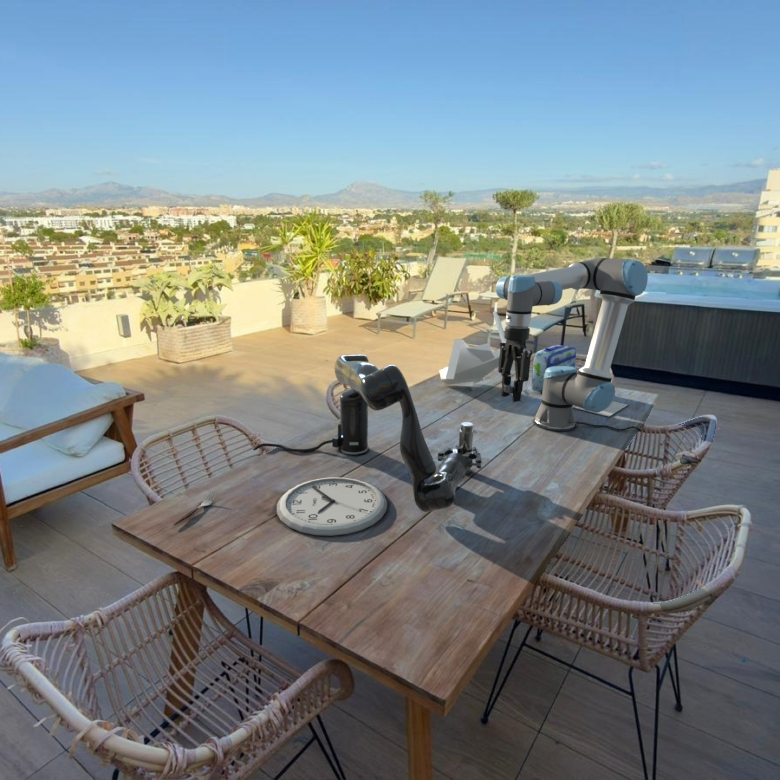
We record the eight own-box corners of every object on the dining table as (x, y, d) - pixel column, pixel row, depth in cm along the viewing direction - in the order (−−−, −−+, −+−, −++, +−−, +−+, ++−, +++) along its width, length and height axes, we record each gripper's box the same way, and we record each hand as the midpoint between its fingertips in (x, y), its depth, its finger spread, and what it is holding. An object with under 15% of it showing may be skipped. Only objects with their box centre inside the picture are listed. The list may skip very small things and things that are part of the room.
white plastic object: (461, 429, 252) (437, 405, 227) (444, 352, 274) (420, 323, 250) (535, 404, 240) (518, 377, 215) (510, 326, 262) (492, 293, 237)
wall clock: (392, 527, 129) (268, 531, 127) (391, 533, 130) (269, 537, 127) (383, 473, 158) (282, 475, 155) (383, 478, 158) (282, 480, 156)
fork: (169, 526, 131) (168, 519, 131) (210, 497, 146) (210, 490, 145) (177, 528, 130) (176, 521, 130) (218, 498, 145) (217, 492, 144)
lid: (522, 391, 167) (523, 384, 166) (513, 394, 163) (514, 387, 163) (509, 388, 170) (510, 381, 170) (499, 390, 167) (500, 383, 166)
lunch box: (548, 397, 237) (553, 352, 230) (527, 392, 244) (531, 348, 238) (575, 386, 254) (580, 344, 248) (555, 382, 261) (559, 340, 255)
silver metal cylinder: (470, 474, 162) (473, 427, 157) (457, 473, 163) (460, 426, 158) (470, 468, 166) (473, 422, 161) (457, 467, 166) (460, 421, 162)
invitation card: (608, 416, 214) (573, 407, 224) (608, 416, 214) (573, 408, 224) (628, 404, 229) (594, 396, 238) (628, 405, 229) (594, 397, 238)
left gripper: (477, 463, 146) (490, 441, 161) (429, 454, 151) (446, 433, 166) (475, 487, 148) (488, 463, 163) (428, 477, 153) (445, 455, 169)
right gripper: (490, 322, 167) (484, 391, 174) (526, 332, 151) (518, 408, 158) (509, 321, 170) (503, 389, 177) (546, 331, 154) (538, 405, 161)
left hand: (467, 448), depth 165 cm, fingers closed on silver metal cylinder, 4 cm apart
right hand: (510, 398), depth 168 cm, fingers closed on lid, 5 cm apart
